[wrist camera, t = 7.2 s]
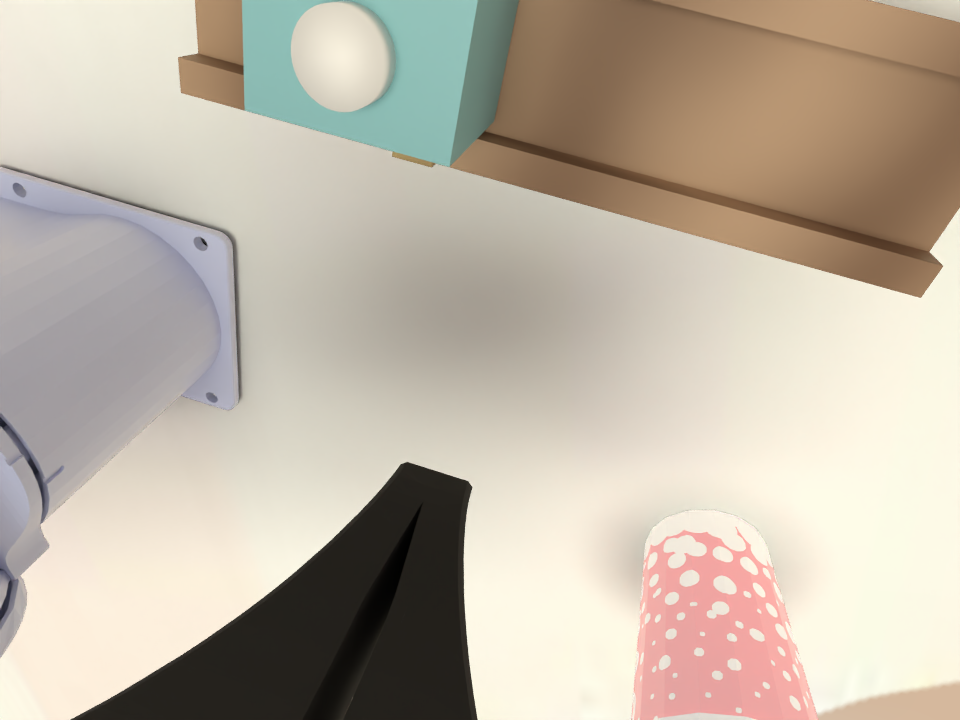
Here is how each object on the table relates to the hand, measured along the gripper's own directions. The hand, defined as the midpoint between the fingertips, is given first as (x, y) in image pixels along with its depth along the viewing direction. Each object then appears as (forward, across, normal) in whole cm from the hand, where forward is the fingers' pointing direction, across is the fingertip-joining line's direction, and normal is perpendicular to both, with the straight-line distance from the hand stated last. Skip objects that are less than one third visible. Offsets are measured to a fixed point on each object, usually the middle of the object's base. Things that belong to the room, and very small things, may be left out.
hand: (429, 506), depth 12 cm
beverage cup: (+10, -10, +9) cm, 17 cm away
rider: (+7, +3, -7) cm, 10 cm away
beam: (+10, 0, -7) cm, 12 cm away
